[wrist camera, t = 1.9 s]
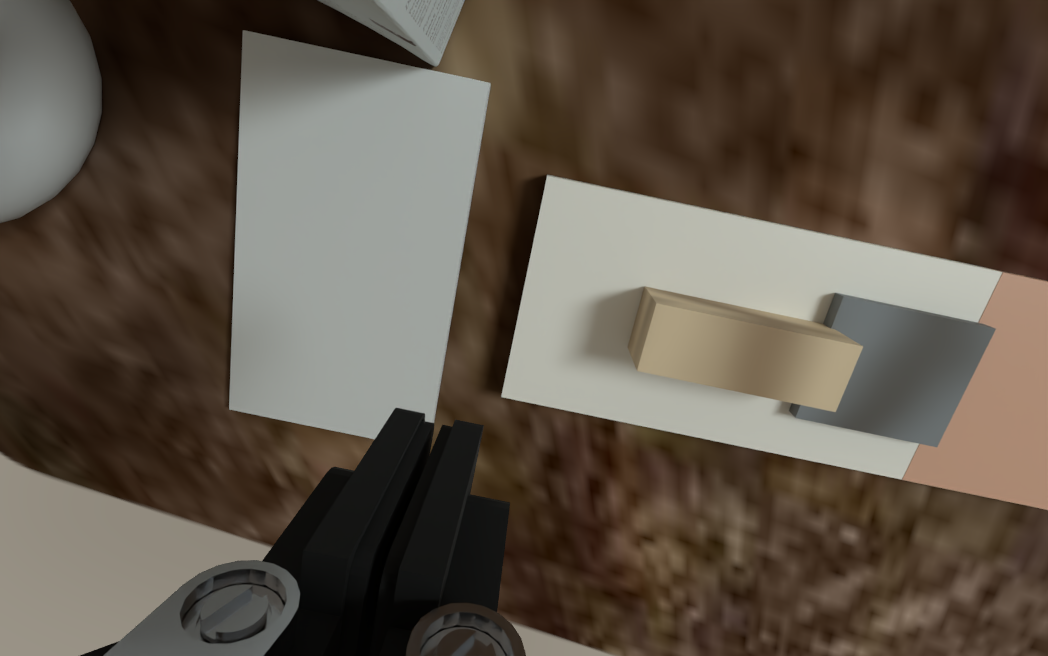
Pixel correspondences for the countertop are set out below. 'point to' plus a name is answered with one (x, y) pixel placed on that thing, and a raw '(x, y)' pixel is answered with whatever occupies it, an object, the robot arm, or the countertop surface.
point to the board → (781, 288)
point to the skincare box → (407, 22)
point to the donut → (44, 101)
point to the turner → (819, 359)
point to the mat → (347, 232)
